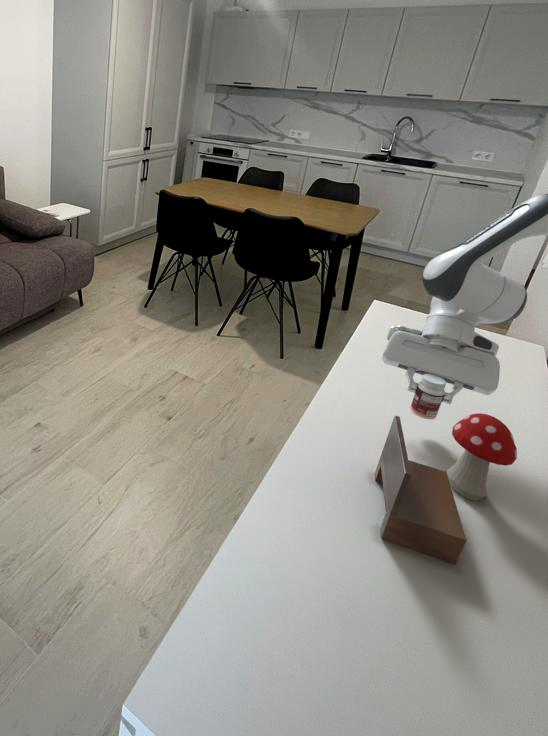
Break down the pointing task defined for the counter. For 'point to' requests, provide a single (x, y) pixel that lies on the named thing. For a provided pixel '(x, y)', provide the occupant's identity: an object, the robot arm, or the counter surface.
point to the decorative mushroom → (479, 453)
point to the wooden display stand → (417, 503)
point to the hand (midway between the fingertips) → (428, 396)
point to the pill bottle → (428, 396)
